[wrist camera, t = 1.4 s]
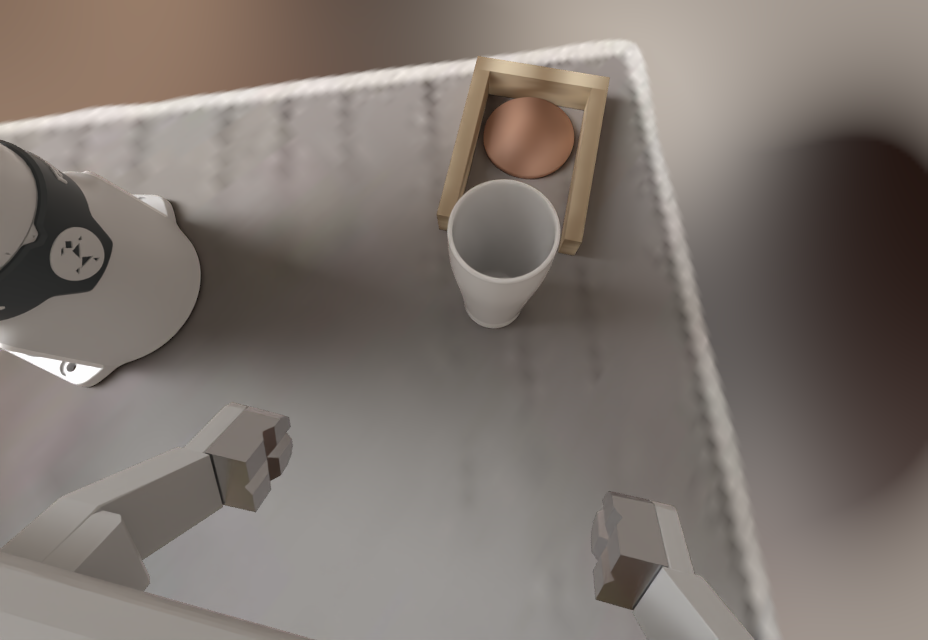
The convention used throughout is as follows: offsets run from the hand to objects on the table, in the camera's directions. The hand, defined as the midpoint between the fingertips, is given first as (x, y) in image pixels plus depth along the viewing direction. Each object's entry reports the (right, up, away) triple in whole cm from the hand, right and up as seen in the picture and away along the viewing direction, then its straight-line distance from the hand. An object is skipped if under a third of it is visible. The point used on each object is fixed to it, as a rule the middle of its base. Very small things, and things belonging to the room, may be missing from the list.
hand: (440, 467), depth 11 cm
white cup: (+3, +5, +29) cm, 30 cm away
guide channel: (+6, +19, +32) cm, 38 cm away
